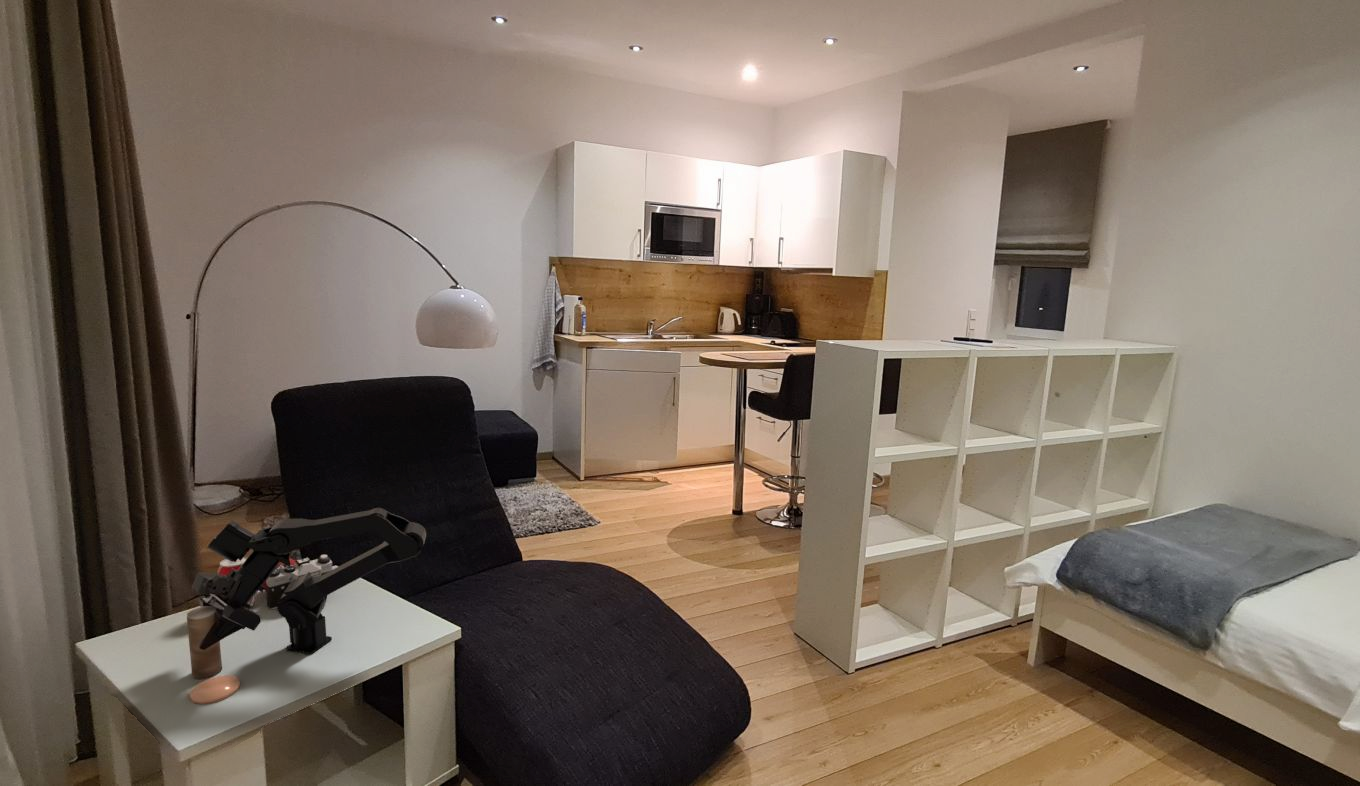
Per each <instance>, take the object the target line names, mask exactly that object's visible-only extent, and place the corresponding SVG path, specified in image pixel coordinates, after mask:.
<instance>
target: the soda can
mask: <svg viewBox="0 0 1360 786" xmlns="http://www.w3.org/2000/svg"><path fill="white" fill-rule="evenodd" d="M247 558H248V557H247V556H244V558H243V559H242V560H241V561H240V560H237V561H236V562H231V561H229V560H227V559H226V558H224V559H223V560H221V561H220V562H219V567H218V569H217V573H216V574H220V575H227V574H228V573H229V572H230V571H231V570H233V569H234V570H236V571H237V570H238V569H239V568H240V567H241V565H242V564H243V563H244V562H245V560H246V559H247ZM255 595H256V594H255ZM255 595H254V596H253V598H252V599H251V600H250V602H249V603H248V604H249V605H251V607H253V605H255V597H256V596H255ZM222 609H223V610H224V608H222Z"/></svg>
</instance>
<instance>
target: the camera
mask: <svg viewBox="0 0 1360 786" xmlns="http://www.w3.org/2000/svg"><path fill="white" fill-rule="evenodd" d="M331 570H333V561H332V560H331V557H330V556H329V555H328V554H321V555H320V556H319V557H318V558H316V559H313V560H310V558H309V557H306V558H302V559H296V565H292V564H291V565H290V566H287V565H280V566H279V567H277V568H276V569H275V570H274V571H273V573H272V574H271V575H270V576H269V578H268V579H267V580H266V591H265V593H266V596H265V597H266V607H267V609H268V610H274V609H277V604H278V601H279V600H280V598H281V597H282V595H283V594H284V592H285V591H286V589H287V588H288V586H289V584H290V583H291V581H292V580H294V579H298V578H301V577H302V576H304V575H305V574H306V573H308V572H310V574H311V576H312V577H317V576H321V575H324V574H325V573H327V572H329V571H331ZM327 598H328V595H327V596H326V597H324V599H326V600H327Z"/></svg>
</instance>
